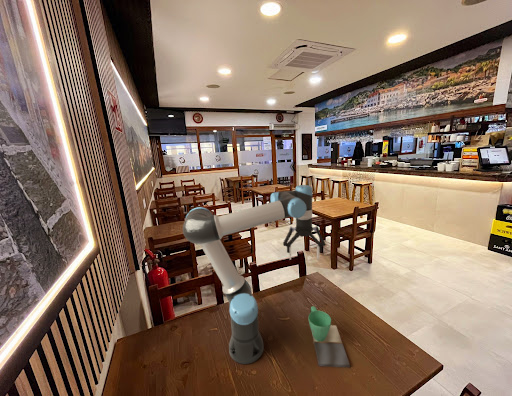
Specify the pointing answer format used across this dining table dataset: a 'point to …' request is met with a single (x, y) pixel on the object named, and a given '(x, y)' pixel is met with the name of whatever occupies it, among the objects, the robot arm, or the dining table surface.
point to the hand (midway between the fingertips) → (304, 258)
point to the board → (331, 350)
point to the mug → (319, 323)
